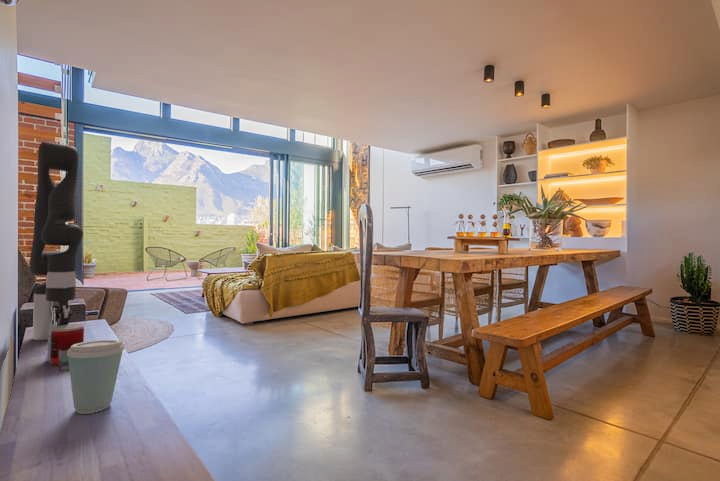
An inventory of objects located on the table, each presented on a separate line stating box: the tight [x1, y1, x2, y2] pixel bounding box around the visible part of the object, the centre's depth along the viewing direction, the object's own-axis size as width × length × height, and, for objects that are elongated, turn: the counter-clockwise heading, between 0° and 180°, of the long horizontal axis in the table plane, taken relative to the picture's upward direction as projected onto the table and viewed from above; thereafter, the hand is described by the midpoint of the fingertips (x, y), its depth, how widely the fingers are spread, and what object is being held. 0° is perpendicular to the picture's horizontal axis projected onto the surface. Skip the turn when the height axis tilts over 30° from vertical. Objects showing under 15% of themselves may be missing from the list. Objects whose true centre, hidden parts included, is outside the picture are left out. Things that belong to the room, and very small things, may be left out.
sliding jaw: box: [46, 336, 51, 363], centre depth 121 cm, size 9×7×8 cm
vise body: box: [58, 347, 70, 373], centre depth 111 cm, size 6×8×6 cm
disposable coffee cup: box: [67, 339, 125, 415], centre depth 84 cm, size 11×11×15 cm
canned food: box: [50, 323, 85, 367], centre depth 115 cm, size 8×8×11 cm
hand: (59, 339), depth 121 cm, fingers closed
